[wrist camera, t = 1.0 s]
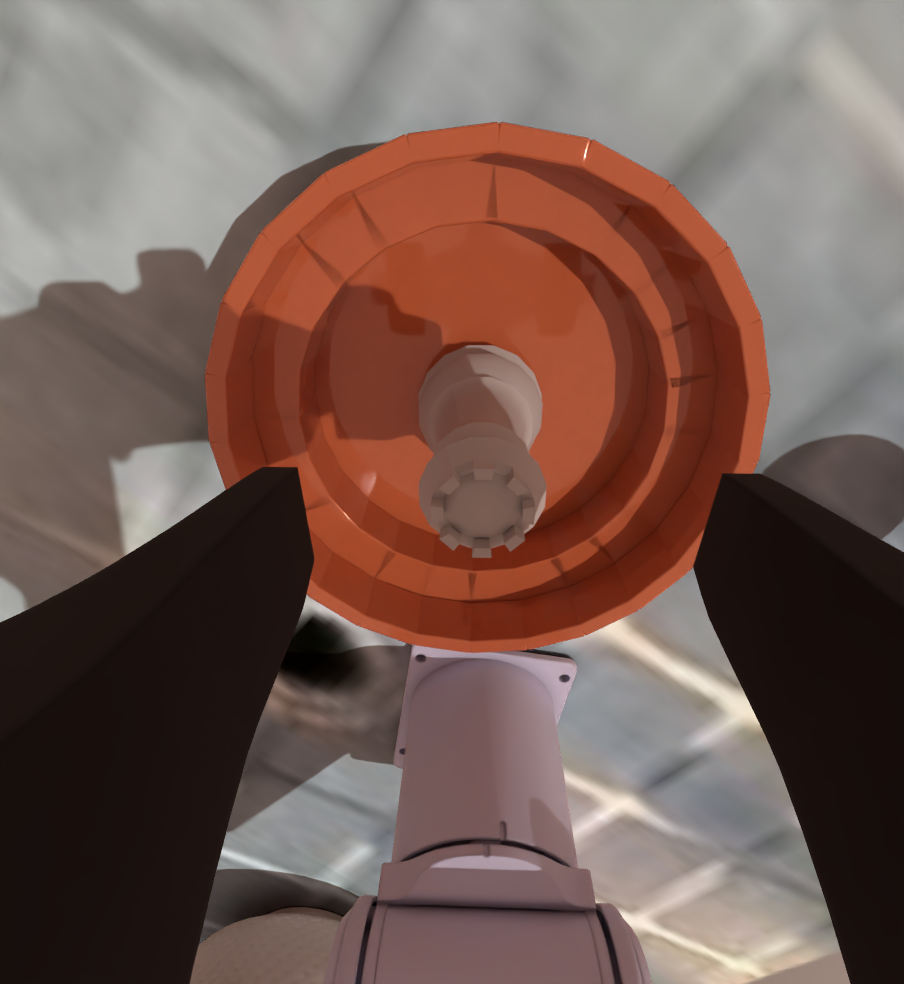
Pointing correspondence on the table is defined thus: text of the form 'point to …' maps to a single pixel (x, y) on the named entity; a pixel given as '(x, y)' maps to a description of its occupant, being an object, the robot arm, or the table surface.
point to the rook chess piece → (481, 449)
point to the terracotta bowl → (510, 326)
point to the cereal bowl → (269, 949)
